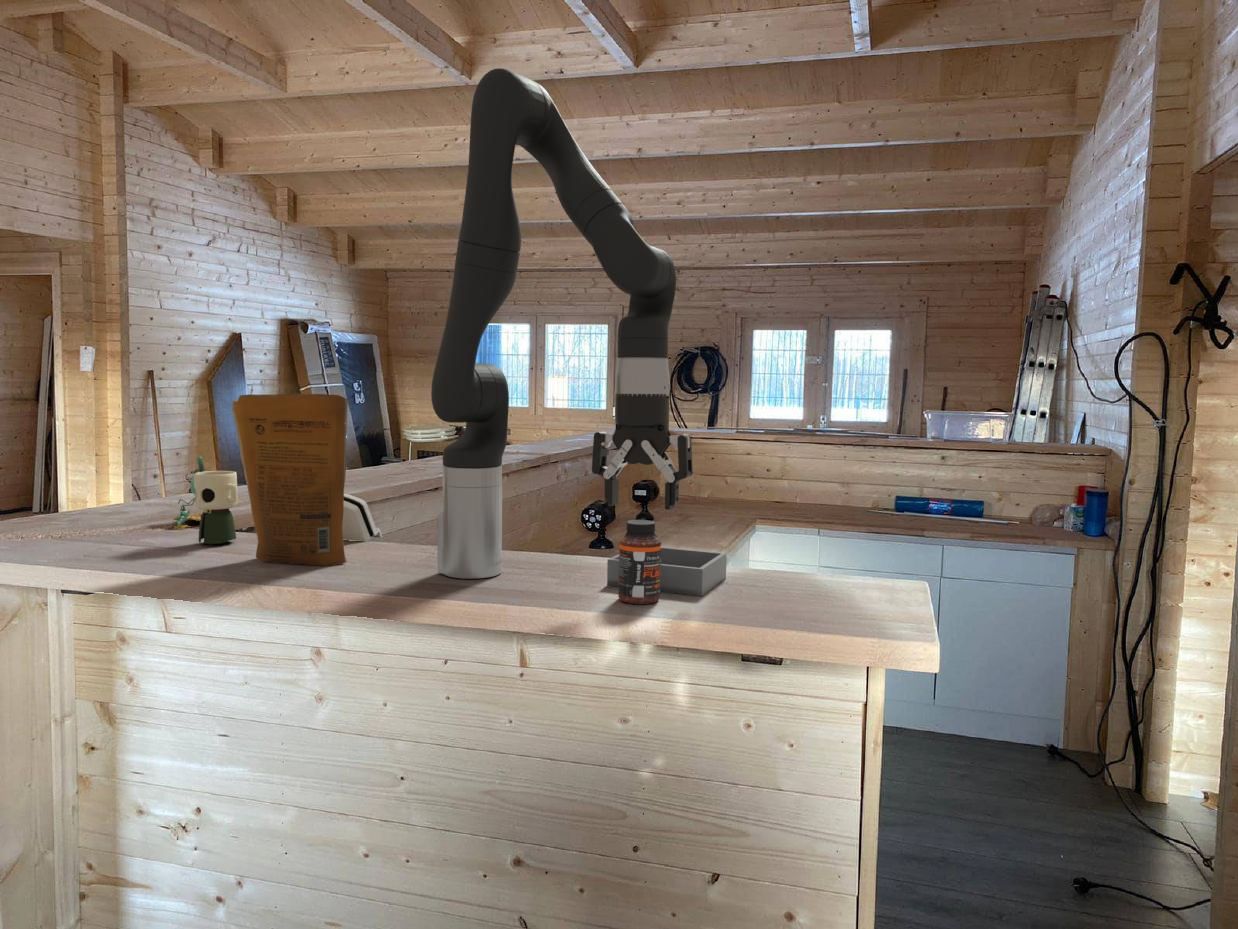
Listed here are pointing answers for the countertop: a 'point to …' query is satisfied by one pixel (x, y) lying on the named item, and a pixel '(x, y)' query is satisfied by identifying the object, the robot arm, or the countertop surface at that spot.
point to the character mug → (216, 505)
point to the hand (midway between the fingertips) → (641, 507)
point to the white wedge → (358, 520)
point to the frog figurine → (185, 514)
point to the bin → (682, 571)
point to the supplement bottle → (639, 563)
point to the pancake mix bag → (295, 474)
